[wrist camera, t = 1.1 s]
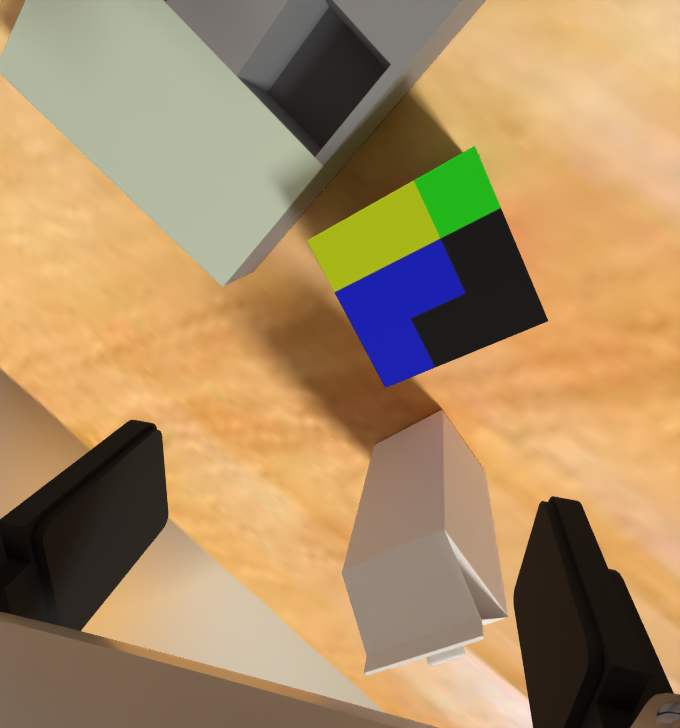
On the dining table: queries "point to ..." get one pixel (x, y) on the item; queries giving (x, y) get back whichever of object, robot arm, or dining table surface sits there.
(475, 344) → the puzzle toy
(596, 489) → the dining table surface
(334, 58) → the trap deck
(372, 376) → the dining table surface
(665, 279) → the dining table surface
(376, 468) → the milk carton
